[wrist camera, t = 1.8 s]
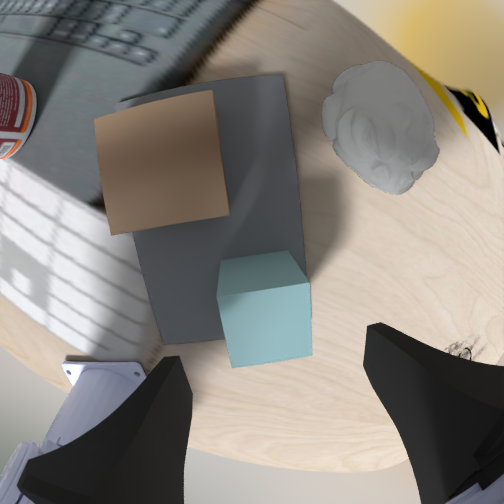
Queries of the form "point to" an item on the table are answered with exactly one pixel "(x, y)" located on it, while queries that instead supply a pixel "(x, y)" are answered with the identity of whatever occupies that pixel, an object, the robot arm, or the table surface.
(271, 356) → the teal block
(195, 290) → the mat
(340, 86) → the grey rounded lumpy piece
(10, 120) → the pill bottle
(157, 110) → the walnut slab
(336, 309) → the table surface
